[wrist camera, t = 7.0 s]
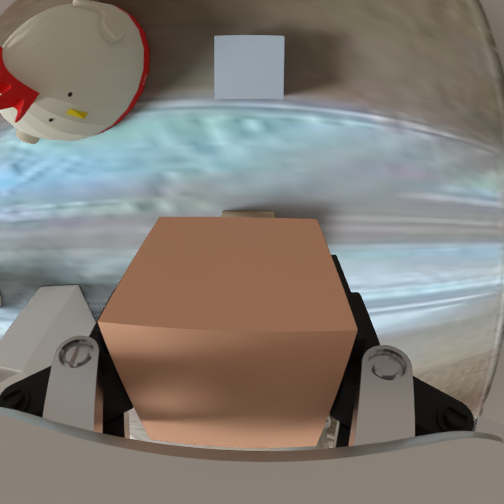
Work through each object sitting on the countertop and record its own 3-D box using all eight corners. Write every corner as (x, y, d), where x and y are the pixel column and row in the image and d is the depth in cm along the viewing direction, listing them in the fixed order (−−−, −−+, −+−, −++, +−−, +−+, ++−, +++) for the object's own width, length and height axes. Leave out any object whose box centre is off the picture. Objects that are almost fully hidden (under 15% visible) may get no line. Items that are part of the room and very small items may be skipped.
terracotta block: (316, 218, 10) (357, 329, 6) (301, 334, 12) (316, 446, 8) (159, 217, 10) (97, 321, 6) (177, 331, 12) (150, 439, 8)
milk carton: (78, 283, 36) (6, 401, 20) (98, 325, 40) (45, 441, 23) (40, 285, 37) (-31, 388, 20) (60, 324, 40) (5, 427, 24)
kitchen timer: (83, 162, 29) (-11, 227, 16) (14, 82, 23) (-89, 107, 10) (180, 64, 24) (107, 50, 11) (96, -19, 19) (-1, -57, 6)
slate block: (279, 43, 23) (284, 35, 19) (278, 96, 26) (283, 99, 21) (221, 43, 23) (214, 35, 19) (221, 96, 26) (214, 99, 21)
